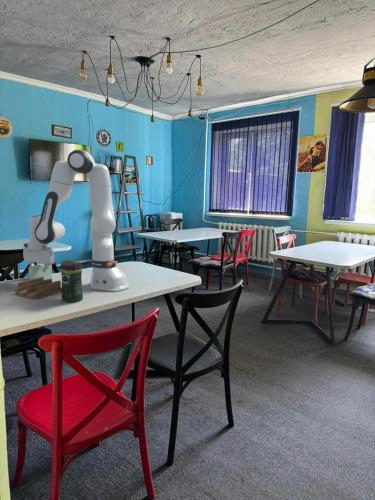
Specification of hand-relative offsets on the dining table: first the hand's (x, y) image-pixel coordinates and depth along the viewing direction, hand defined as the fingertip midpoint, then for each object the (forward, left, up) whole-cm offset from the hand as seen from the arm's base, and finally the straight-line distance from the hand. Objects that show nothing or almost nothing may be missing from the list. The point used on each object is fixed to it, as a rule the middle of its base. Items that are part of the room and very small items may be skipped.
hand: (39, 270), depth 186 cm
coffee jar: (-36, +10, -7) cm, 38 cm away
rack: (-15, +11, -7) cm, 20 cm away
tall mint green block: (-1, -1, -7) cm, 7 cm away
